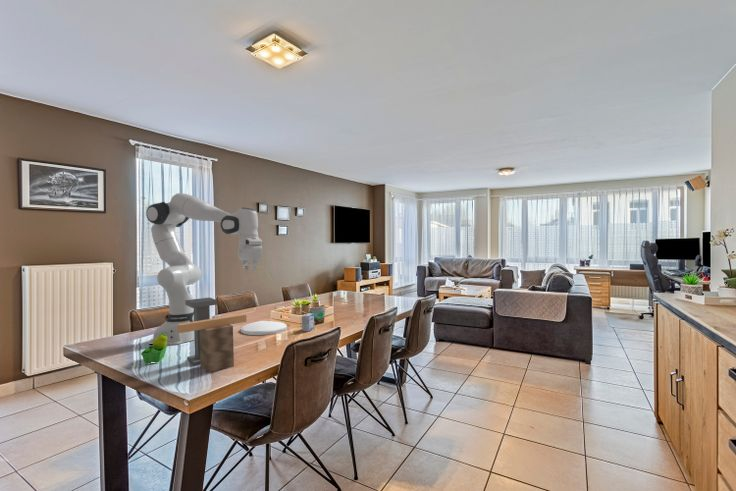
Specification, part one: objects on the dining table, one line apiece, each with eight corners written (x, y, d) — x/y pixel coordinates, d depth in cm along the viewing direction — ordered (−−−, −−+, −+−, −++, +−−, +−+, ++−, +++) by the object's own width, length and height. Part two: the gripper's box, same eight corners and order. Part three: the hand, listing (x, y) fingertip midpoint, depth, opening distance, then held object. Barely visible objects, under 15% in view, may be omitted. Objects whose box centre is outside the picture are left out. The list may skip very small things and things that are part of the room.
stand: (211, 354, 161) (209, 297, 160) (218, 360, 153) (217, 300, 153) (187, 360, 154) (185, 300, 154) (193, 366, 147) (191, 303, 146)
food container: (317, 325, 211) (316, 309, 211) (309, 324, 214) (309, 308, 214) (330, 321, 222) (329, 305, 221) (322, 320, 225) (322, 304, 225)
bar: (243, 320, 155) (243, 313, 155) (246, 321, 152) (246, 314, 152) (177, 331, 138) (177, 324, 138) (179, 333, 135) (179, 325, 135)
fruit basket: (149, 357, 159) (148, 332, 159) (171, 355, 162) (170, 330, 162) (140, 365, 148) (139, 338, 148) (164, 363, 151) (163, 336, 151)
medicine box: (309, 331, 198) (309, 316, 198) (301, 331, 199) (301, 316, 198) (314, 328, 206) (314, 313, 205) (307, 328, 206) (306, 313, 206)
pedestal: (225, 360, 153) (224, 322, 153) (233, 366, 146) (232, 326, 145) (200, 366, 146) (199, 326, 146) (208, 372, 139) (207, 330, 139)
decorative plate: (295, 321, 206) (257, 330, 187) (295, 328, 207) (257, 338, 187) (269, 316, 222) (232, 324, 203) (269, 323, 222) (232, 331, 203)
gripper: (234, 241, 178) (235, 269, 178) (251, 241, 162) (251, 271, 163) (246, 241, 182) (247, 268, 182) (264, 241, 167) (264, 270, 167)
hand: (249, 269), depth 172 cm, fingers open, 8 cm apart
